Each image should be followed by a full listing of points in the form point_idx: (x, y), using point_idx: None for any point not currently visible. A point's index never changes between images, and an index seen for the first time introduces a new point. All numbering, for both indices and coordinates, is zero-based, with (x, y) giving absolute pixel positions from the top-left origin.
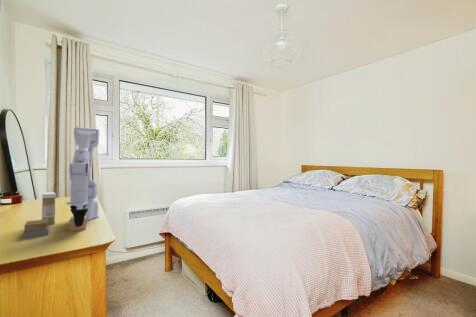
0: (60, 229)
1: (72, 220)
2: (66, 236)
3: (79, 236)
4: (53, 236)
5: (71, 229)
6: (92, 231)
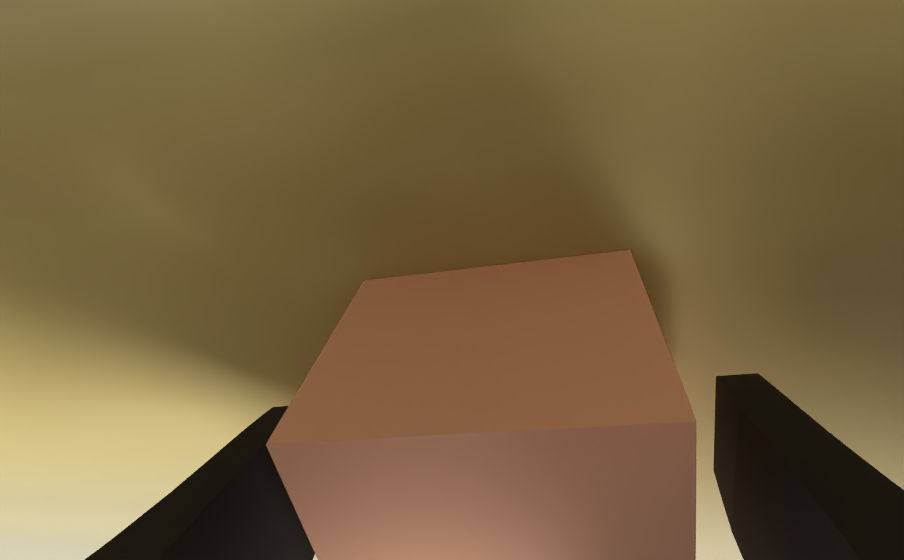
0: (583, 60)
1: (286, 451)
2: (42, 251)
3: (38, 401)
4: (50, 31)
5: (356, 303)
6: None
